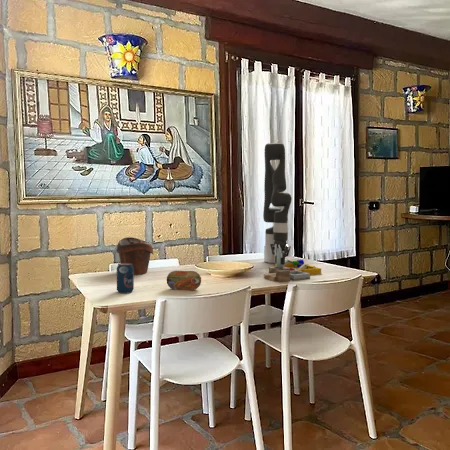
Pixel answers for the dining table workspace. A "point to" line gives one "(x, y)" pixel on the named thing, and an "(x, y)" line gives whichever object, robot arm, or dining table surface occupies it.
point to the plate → (270, 276)
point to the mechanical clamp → (301, 267)
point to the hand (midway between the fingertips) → (279, 263)
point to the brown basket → (135, 253)
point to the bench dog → (282, 275)
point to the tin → (183, 280)
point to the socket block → (274, 269)
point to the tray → (299, 275)
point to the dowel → (279, 260)
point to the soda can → (125, 278)
